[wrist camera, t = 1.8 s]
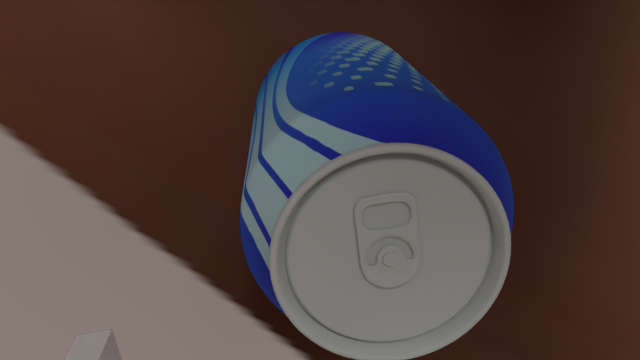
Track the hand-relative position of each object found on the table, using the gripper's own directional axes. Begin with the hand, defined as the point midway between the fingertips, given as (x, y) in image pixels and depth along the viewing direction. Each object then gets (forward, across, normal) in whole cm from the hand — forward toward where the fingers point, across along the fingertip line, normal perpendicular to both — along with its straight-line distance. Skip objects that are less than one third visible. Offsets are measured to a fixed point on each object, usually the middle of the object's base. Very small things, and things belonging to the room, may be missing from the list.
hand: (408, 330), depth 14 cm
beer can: (+19, 0, 0) cm, 19 cm away
